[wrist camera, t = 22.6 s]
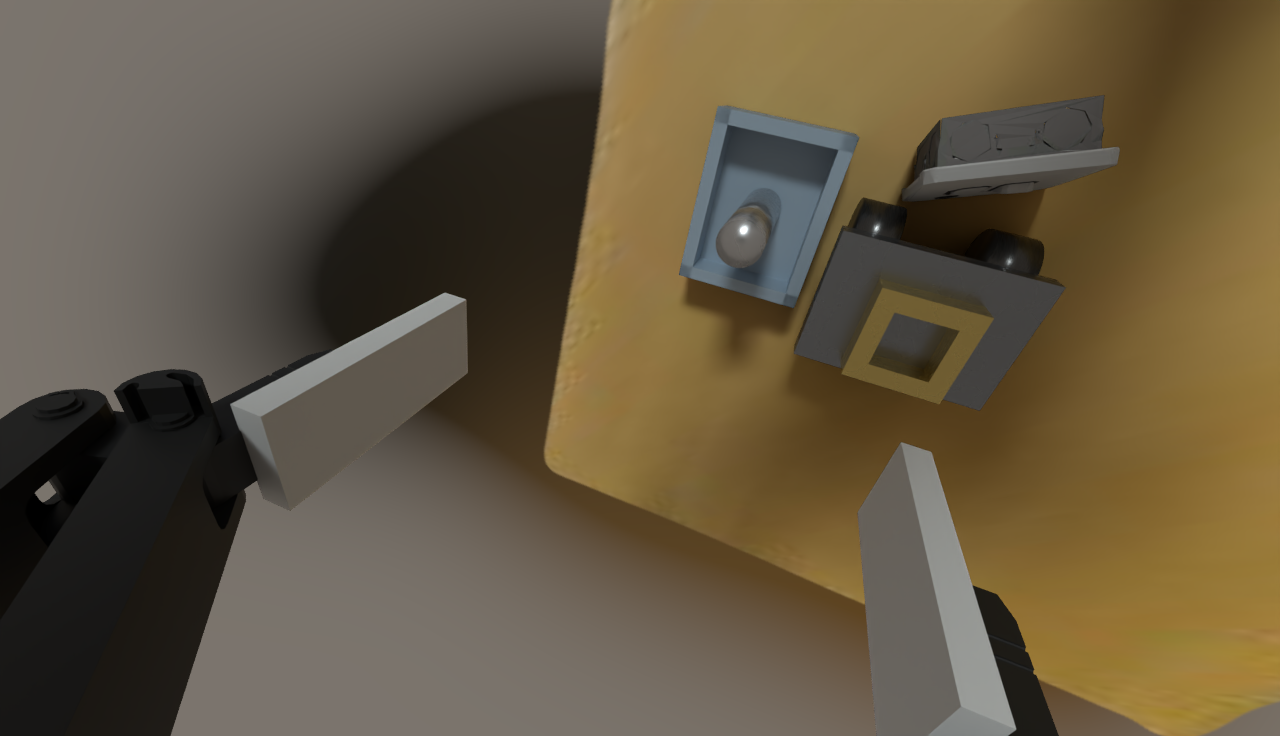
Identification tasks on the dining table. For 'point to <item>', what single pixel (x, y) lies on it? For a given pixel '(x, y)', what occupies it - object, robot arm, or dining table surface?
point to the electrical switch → (1011, 151)
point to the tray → (778, 160)
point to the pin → (748, 229)
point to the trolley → (925, 308)
